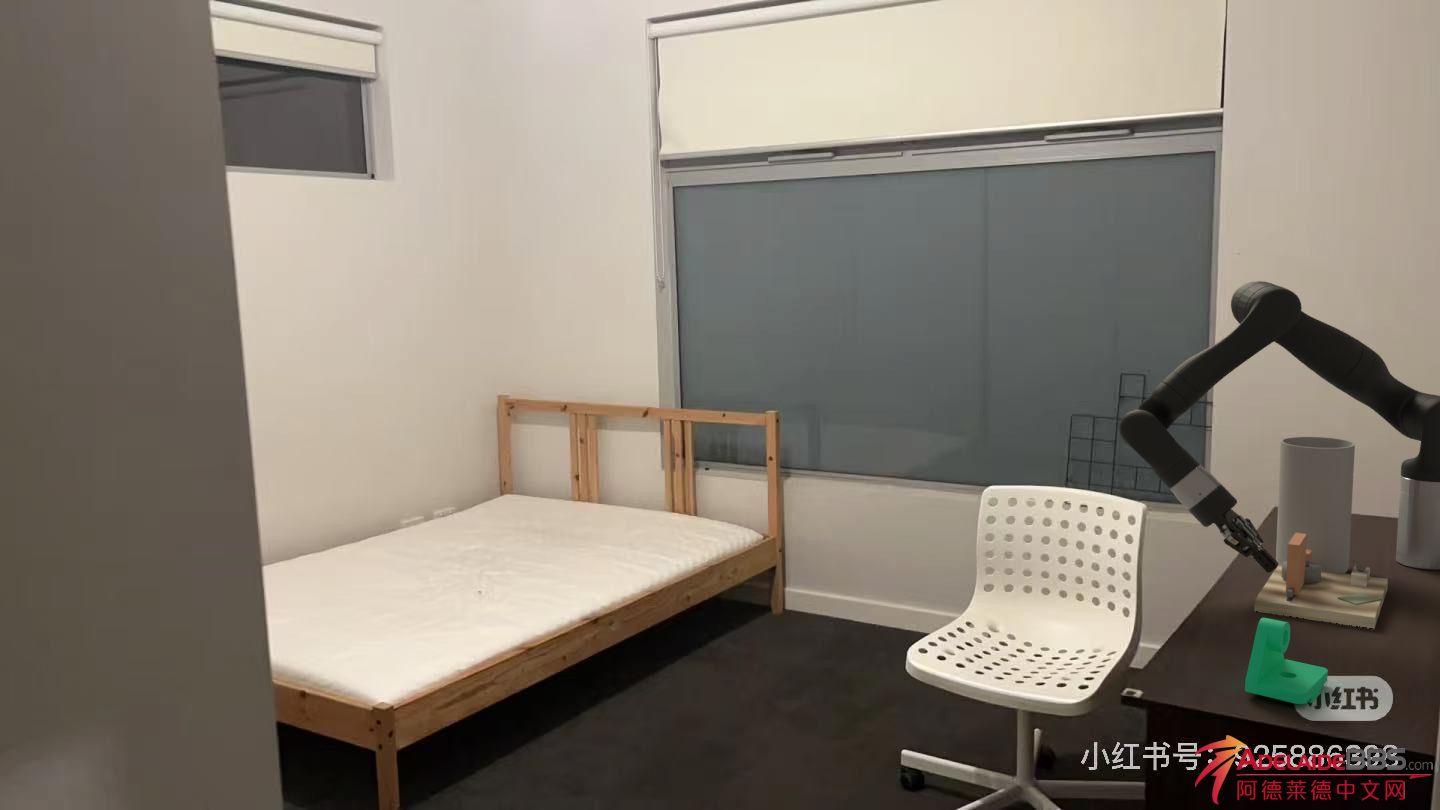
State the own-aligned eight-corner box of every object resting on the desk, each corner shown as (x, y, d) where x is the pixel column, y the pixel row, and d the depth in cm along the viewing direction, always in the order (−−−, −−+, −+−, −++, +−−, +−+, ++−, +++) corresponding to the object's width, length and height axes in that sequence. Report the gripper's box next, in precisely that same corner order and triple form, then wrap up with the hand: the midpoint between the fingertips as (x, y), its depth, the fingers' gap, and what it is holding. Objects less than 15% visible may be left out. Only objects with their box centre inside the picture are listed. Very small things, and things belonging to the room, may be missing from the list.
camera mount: (1303, 713, 150) (1306, 641, 148) (1244, 698, 155) (1247, 629, 153) (1329, 686, 158) (1332, 618, 157) (1272, 673, 163) (1275, 607, 162)
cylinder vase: (1352, 580, 204) (1359, 449, 200) (1278, 574, 209) (1283, 446, 205) (1344, 562, 215) (1350, 437, 212) (1273, 557, 220) (1278, 435, 217)
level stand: (1277, 575, 209) (1278, 546, 208) (1388, 589, 198) (1390, 559, 197) (1254, 611, 189) (1255, 580, 189) (1375, 629, 179) (1377, 596, 178)
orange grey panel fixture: (1286, 567, 205) (1288, 521, 204) (1324, 572, 202) (1327, 525, 200) (1268, 595, 190) (1270, 545, 189) (1310, 601, 186) (1312, 550, 185)
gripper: (1210, 490, 194) (1285, 566, 188) (1226, 476, 204) (1297, 547, 199) (1178, 515, 198) (1250, 591, 192) (1195, 500, 208) (1264, 571, 203)
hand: (1274, 568), depth 196 cm, fingers closed
